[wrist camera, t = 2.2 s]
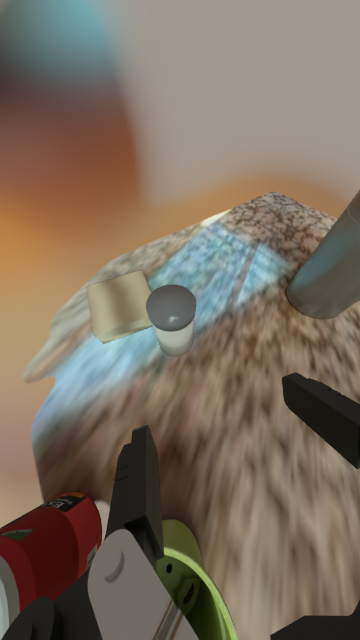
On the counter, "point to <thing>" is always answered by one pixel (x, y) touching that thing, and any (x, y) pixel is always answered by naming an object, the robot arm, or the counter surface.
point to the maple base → (119, 306)
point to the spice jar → (172, 318)
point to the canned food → (46, 552)
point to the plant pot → (187, 569)
